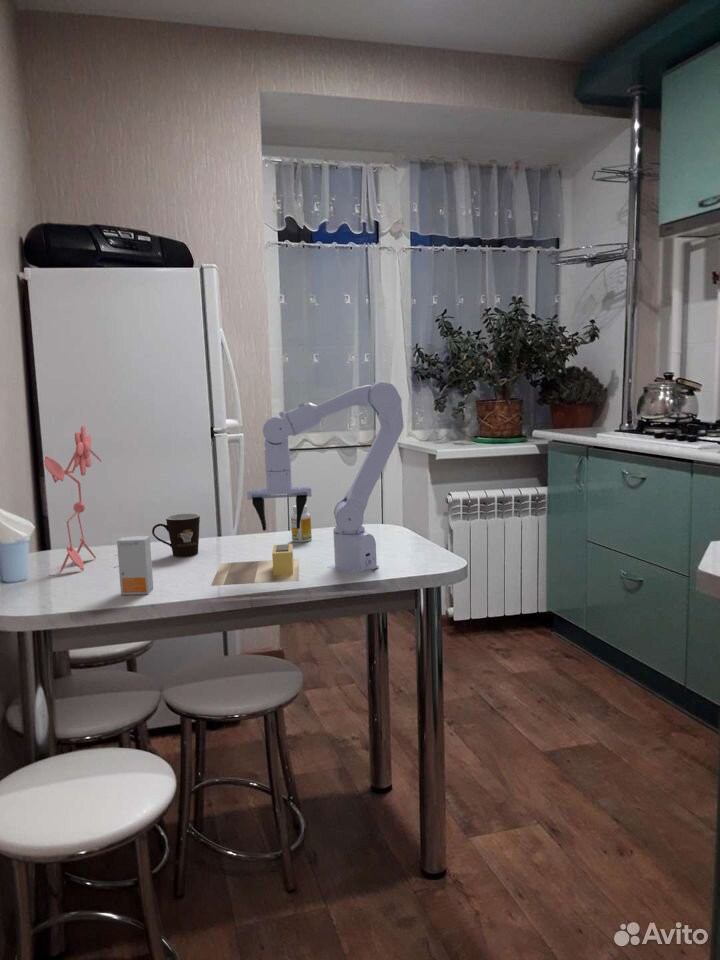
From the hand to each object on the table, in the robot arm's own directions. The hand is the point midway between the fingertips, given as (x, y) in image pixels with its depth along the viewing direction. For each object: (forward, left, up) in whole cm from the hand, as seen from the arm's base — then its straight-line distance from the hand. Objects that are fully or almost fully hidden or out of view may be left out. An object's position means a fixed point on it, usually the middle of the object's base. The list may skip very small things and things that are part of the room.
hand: (281, 528), depth 173 cm
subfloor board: (+4, +4, -10) cm, 12 cm away
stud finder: (0, 0, -10) cm, 10 cm away
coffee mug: (+37, +2, -10) cm, 38 cm away
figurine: (+47, +21, -10) cm, 52 cm away
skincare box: (+15, +29, -10) cm, 34 cm away
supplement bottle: (+21, -27, -10) cm, 36 cm away
